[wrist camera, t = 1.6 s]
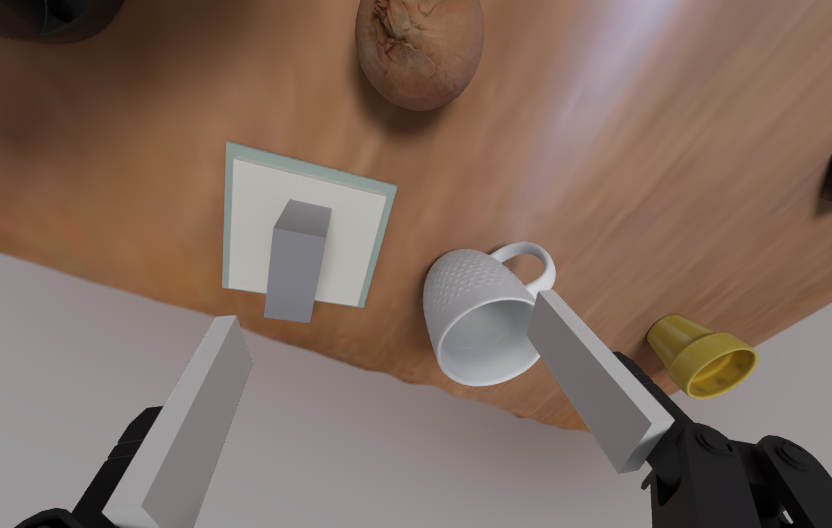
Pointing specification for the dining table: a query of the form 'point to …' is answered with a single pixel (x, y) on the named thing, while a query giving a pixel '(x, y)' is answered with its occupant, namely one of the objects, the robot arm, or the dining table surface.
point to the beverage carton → (828, 187)
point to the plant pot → (701, 356)
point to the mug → (483, 313)
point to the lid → (299, 238)
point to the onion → (419, 49)
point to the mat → (309, 168)
